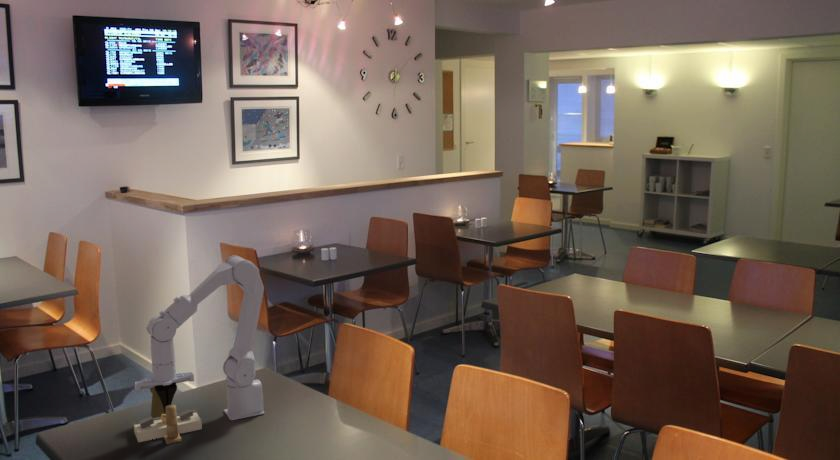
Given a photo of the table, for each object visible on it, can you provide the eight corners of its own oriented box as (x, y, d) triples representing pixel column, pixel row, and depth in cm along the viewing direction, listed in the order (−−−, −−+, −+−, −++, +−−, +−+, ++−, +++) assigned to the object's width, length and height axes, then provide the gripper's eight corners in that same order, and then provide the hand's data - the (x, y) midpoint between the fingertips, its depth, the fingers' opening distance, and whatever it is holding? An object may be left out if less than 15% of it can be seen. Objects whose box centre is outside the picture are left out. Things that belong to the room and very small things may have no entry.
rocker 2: (173, 418, 196) (173, 414, 196) (175, 421, 194) (175, 417, 194) (160, 418, 194) (161, 414, 194) (162, 421, 192) (163, 417, 192)
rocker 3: (191, 412, 198) (190, 408, 198) (193, 415, 196) (192, 411, 196) (179, 417, 197) (178, 413, 196) (181, 420, 195) (180, 416, 194)
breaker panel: (196, 419, 201) (195, 409, 201) (201, 429, 195) (201, 418, 195) (134, 432, 194) (133, 422, 193) (138, 442, 188) (137, 431, 187)
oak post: (178, 435, 191) (176, 402, 190) (181, 441, 188) (179, 407, 187) (164, 438, 190) (162, 405, 188) (167, 444, 186) (164, 410, 185)
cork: (166, 424, 199) (163, 385, 197) (146, 422, 200) (143, 384, 198) (177, 415, 205) (175, 377, 203) (158, 413, 206) (155, 376, 204)
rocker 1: (152, 420, 193) (151, 416, 193) (154, 423, 191) (152, 419, 191) (140, 424, 192) (138, 420, 192) (141, 428, 190) (140, 424, 190)
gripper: (136, 371, 185) (140, 422, 187) (195, 361, 192) (198, 410, 194) (132, 363, 191) (136, 412, 193) (189, 354, 198) (192, 402, 200)
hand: (166, 411), depth 194 cm, fingers closed
